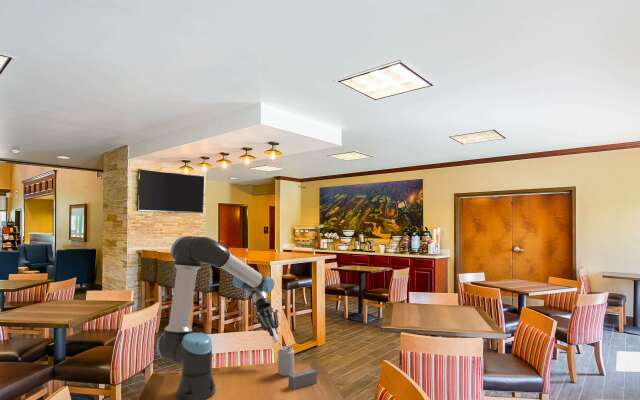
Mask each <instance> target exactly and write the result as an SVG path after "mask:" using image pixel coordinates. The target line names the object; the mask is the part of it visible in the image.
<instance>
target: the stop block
mask: <svg viewBox="0 0 640 400" xmlns="http://www.w3.org/2000/svg"><path fill="white" fill-rule="evenodd" d="M315 383H316V384H318V371H317V370H315V369H313V368H310V369H305V370H301V371H297V372H294V373H293V374H289V376H288V387H289V388H290V389H292V390H296V389H300V388H305V387H308V386H311V384H312V385H315Z"/></svg>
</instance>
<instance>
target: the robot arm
mask: <svg viewBox="0 0 640 400" xmlns="http://www.w3.org/2000/svg"><path fill="white" fill-rule="evenodd" d="M170 249H171V250H170V255H171V256H172V259H173V260H174V267H175V269H176V273H175V281H174V286H173V295H172V300H171V301H172V302H171V308H170V314H169V315H170V316H169V321H168V325H167V326H166V327H164V330H163V332H162V333H161V335H160V337H158V339H157V341H156V344H155V345H156V348H155V349H156V352H157V355H158V356H159V357H160V358H161V359H163V360H164V361H166V362H170V363H174V364H177V365H181V378H180V381H179V384H178V387H177V390H176V397H177V399H178V400H206V399H209V398H211V397H212V396H213V395H215V394H216V383H215V380H214V377H213V374H212V361H213V360H212V359H213V358H212V356H213V355H212V354H213V345H212V338H211V336H210V335H208V334H207V333H203V332H193V328H191V326H190V322H191V316H192V311H193V310H192V308H193V301H194V294H195V287H196V281H197V273H198V271H199V270H200V269H201V268H202V264H204V265H211V266H213V267H215V268H218V269H220V268H221V269H222V270H223V271H226V272H227V273H229V274H230V275H233V279H232V285H233V287H235V288H237V289H241V290H244V291H247V292H249V293H250V294H251V297H252V300H253V303H254V305H255V309H256V310H257V311H256V312H255V314H254V316H253V317H254V318H255V319H257V321H258V324H260V326H261V327H262V329H263V331H265V332H267V333H269V336H270V337H271V338H272V340H273V343H274V344H278V342H279V340H280V339H279V336H278V335H279V333H278V330H277V329H278V328H279V325H280V324H279V317H278V312H279V310H278V309H274V308H273V307H272V305H271V301H270V299H269V296H268V293H271V292H272V291H273V290H274V287H275V281H274V278H273V277H270V276H265V275H264V274H262V273H260V272H259V271H257V270H255V269H254V268H252V267H251V266H249V265H248V264H247V263H245V262H244V261H243V260H241V259H240V258H238V257H236V256H235V255H234V254H232V253H231V250H230V249H228V247H226V246H224V244H223V245H222V244H221V243H220V242H219V241H216V240H215V239H213V238H210V237H207V236H194V235H193V236H192V235H187V236H182V237H179V238H177V239H176V240H174V242H173V243H172V245H171V248H170Z"/></svg>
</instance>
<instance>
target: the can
mask: <svg viewBox="0 0 640 400" xmlns="http://www.w3.org/2000/svg"><path fill="white" fill-rule="evenodd" d="M293 373H295V350H294V348H293V346H290V345H283V346H280V347H279V349H278V351H277V374H279V375H280V376H281V377H289V374H293Z"/></svg>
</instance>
